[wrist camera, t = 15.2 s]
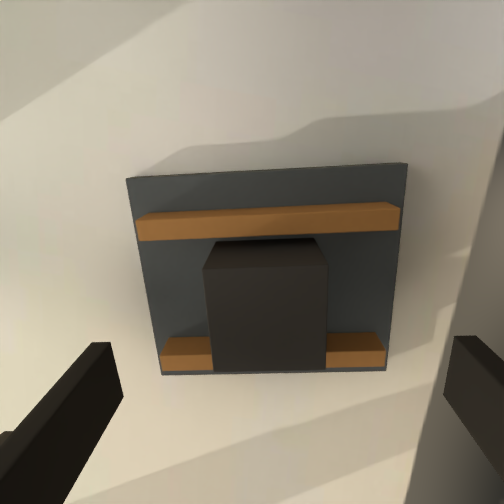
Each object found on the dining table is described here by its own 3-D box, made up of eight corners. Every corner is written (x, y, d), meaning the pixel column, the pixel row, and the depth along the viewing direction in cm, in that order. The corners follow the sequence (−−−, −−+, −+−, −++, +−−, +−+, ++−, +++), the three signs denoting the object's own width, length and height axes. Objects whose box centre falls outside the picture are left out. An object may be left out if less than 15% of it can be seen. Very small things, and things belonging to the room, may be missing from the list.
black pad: (314, 237, 19) (329, 264, 14) (313, 323, 21) (325, 370, 16) (215, 241, 19) (201, 269, 15) (223, 326, 21) (213, 372, 17)
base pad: (400, 162, 18) (426, 165, 15) (381, 361, 23) (398, 393, 20) (132, 176, 19) (108, 182, 16) (165, 366, 23) (151, 397, 21)
